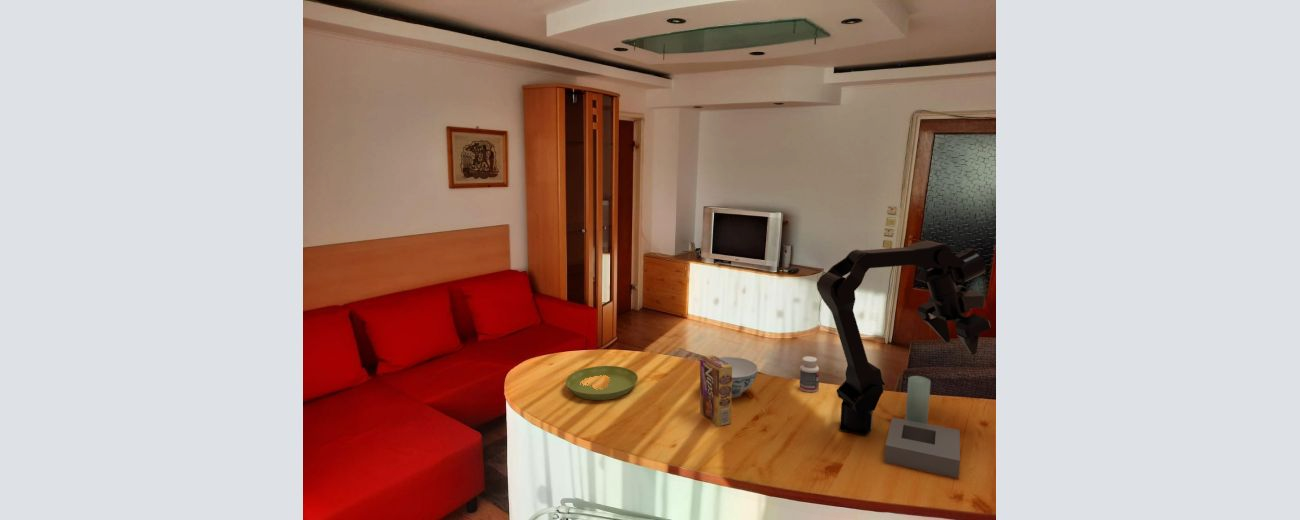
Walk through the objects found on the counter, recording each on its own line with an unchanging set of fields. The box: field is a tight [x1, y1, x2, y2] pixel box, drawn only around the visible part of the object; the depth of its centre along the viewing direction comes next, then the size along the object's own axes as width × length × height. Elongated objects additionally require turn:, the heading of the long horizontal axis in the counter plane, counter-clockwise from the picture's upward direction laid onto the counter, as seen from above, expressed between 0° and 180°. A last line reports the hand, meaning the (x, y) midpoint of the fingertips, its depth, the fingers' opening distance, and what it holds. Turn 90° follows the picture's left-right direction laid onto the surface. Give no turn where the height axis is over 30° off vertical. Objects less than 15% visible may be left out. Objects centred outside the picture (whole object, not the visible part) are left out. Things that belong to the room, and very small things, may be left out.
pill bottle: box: [798, 355, 820, 393], centre depth 158 cm, size 5×5×9 cm
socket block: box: [883, 417, 961, 479], centre depth 123 cm, size 14×14×4 cm
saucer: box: [565, 365, 639, 401], centre depth 161 cm, size 21×21×3 cm
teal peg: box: [904, 375, 932, 424], centre depth 135 cm, size 5×5×12 cm
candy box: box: [699, 354, 733, 427], centre depth 141 cm, size 9×4×15 cm, turn 26°
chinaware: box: [717, 356, 759, 399], centre depth 156 cm, size 15×15×8 cm
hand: (960, 347), depth 137 cm, fingers open, 9 cm apart
